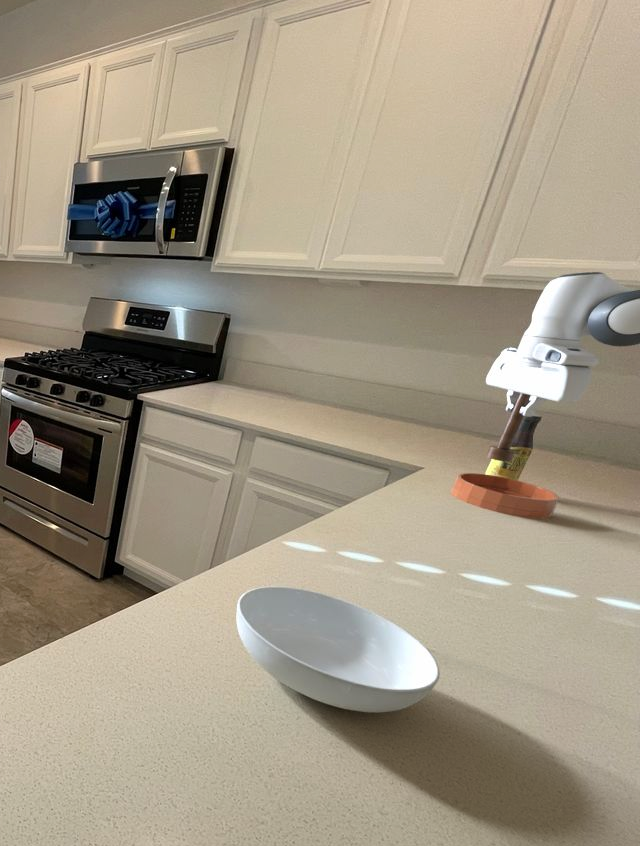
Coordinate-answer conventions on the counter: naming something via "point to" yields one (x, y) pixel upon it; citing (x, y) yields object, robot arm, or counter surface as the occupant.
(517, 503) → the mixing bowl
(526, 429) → the sauce bottle
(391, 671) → the serving bowl
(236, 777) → the counter surface
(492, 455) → the brown rod with base
